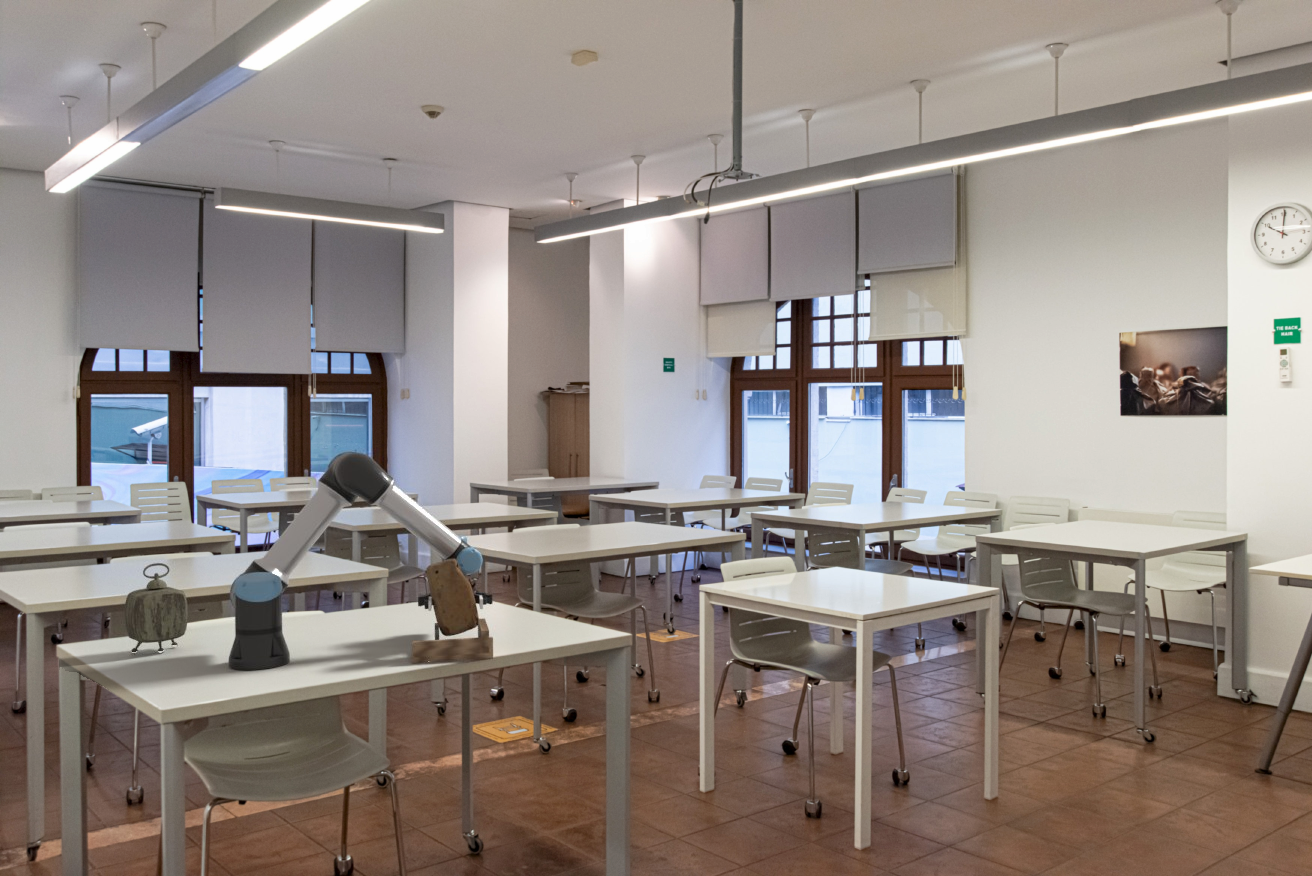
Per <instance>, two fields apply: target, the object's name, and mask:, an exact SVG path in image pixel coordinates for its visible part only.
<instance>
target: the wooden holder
mask: <svg viewBox="0 0 1312 876" xmlns="http://www.w3.org/2000/svg"><path fill="white" fill-rule="evenodd" d="M488 626H489V625H488V623H487V621H486V618H479V625H478V626H477V637H466V638H446V639H440V629H439V626H438V623H437V622H434V639H430V640H426V639H425V640H413V641H411V645H412V648H411V649H412V655H411V656H412V664H420V663H419V662H426V663H429V662H428V661H442V662H452V661H453V662H455V661H471V660H472V659H473V660H482V659H483V660H486V659H489V660H490V659H494V637H493V636H490V630H489V627H488Z"/></svg>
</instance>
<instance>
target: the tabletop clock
mask: <svg viewBox="0 0 1312 876" xmlns="http://www.w3.org/2000/svg"><path fill="white" fill-rule="evenodd" d="M157 566H162V567H165V568H166V569H167V571H166V572H165V573H163V574H161V575H159V573H158V572H155V573H154V575H153V576H152V575H147V574H146V571H147V570H148V569H149V568H151V567H157ZM142 573H143V574H142V575H143V576H144V577H146V578H148V579H152V580H149V582H148V583H147V584H146V587H145V588H141V589H136V590H133V591H131V592H129V593H127V596H126V599H125V604H124V617H123V618H124V625H125V626H124V627H125V631H126V634H127V637H128V638H130V639H131V640H133V641H136V642H137V644H136V645H135V647H133V648H132V649H131V651H132V652H136V651H139V647H140V646H141V644H142V643H143V644H144V643H145V644H151V643H158V647H159V648H158V649H157V652H158V651H163V650H164V651H165V649H164V647H162V643H163V642H166V641H167V642H168V641H171V643H170V644H171V645H177V646H178V642H176V641H175V640H176V639H179V638H181V637H183V636H184V635H185V633H186V631H187V628H188V619H189V610H188V609H189V607H188V599H187V596H186V593H185V591H184V590H181V589H178V588H174V587H170V586H168V585H167V583H166V581H164V580H163V579H162V578H164V577H166V576H168V574H169V573H170V568H169V566H168V565H167V564H165V563H163V562H162V563H160V562H155V563H151V564H148V565H147V566H146V567H144V568H143V570H142ZM132 652H131V653H132Z"/></svg>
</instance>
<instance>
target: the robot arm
mask: <svg viewBox="0 0 1312 876" xmlns="http://www.w3.org/2000/svg"><path fill="white" fill-rule="evenodd" d="M317 487H318V488H317V490H316V491H315V493H314V494H313V495H312V496H311V498H310V499H309V500H308V502H307V503H306V504H305V505H304V506H303V508H301V510H300V511H299V513H298V514H297V515H296V516H295V518H294V519H293V520H292V521H291V523H290V524H288V526H287V528H286V529H285V530H284V531H283V532H282V533H281V535H280V536H279V537H278V539H277V540H276V541H275V542H274V544H273V545H272V546H271V547H270V549H269V550H268V551H267V552H266V554H265V555H263V557H261V558H258V559H254V560H253V561H252V562H251V563H250V564H249V566H248V567H247V568H246V569H245V571H243V572H242V573H240V574H239V575H238V576H237V577H236V578H235V579H234V581H233V582H232V583H231V586H230V590H229V599H230V603H231V605H232V606H233V608H234V625H235V626H234V628H235V629H234V630H235V631H234V635H235V636H234V640H233V643H232V646H231V649H230V653H229V656H228V668H230V667H231V668H230V669H232V668H235V669H234V670H239V671H241V670H242V671H243V670H244V671H245V670H247V671H248V670H249V671H255V670H263V669H264V670H265V669H271V668H276V667H281V666H283V665H287V664H289V663H290V661H291V659H290V658H291V657H290V656H291V655H290V653H291V652H290V650H289V647H288V644H287V642H286V640H285V636H284V634H283V600H282V599H283V597H282V595H283V593H284V592H285V590H286V589H287V587H288V586H289V585H290V580H289V578H290V575H291V573H292V572H293V571H294V570H295V568H297V566H298V565H299V564H300V562H301V561H302V560H303V559H304V557H305V556H306V555H307V553H308V552H309V551H310V550H311V548H312V547H313V546H314V544H315V543H316V542H317V541H318V540H319V539H320V537H321V536H322V534H323V533H324V532H325V531H326V529H327V528H328V527H329V526H330V524H331V523H332V522H333V521H334V520H335V518H336V516H338V515H339V514H340V512H341V511H342V509H343V508H345V507H351V506H352V505H354V503H355V502H356V501H357V499H358V498H360V499H361V500H363V501H364V502H366V503H367V504H368V505H370V506H377V507H378V508H380V510H382V511H383V512H384V513H386V514H387V515H389V516H390V517H391V518H392V519H393V520H395V521H396V522H397V523H399V525H400V526H402V527H404V528H405V529H406V531H409V532H410V533H411V534H412V535H413V536H415V537H416V538H417V539H418V540H420V542H423V543H424V544H425V545H426V546H427V547H429V548H430V549H431V550H432V551H434V552H435V553H436V554H438V556H440V557H441V562H442V561H445V560H448V559H456V561H457V563H458V565H459V567H460V569H461V572H462V573H463V575H464V576H465V578H466V579H467V580H468V575H472V574H475V573H477V572H478V571H479V570H480V569H481V567H482V565H483V561H484V560H483V556H482V553H481V552H480V551H479V550H478V549H476V548H475V547H473V546H471V545H470V544H468V539H467V537H466V536H465V535H461V534H460V535H457V534H456V533H455V532H454V531H453V530H451V529H450V528H449V527H447V526H446V525H445V524H444V523H443V522H442V521H440V520H439V519H438V518H436V516H434V515H433V514H432V513H430V511H428V510H427V509H425V507H423V506H422V505H421V504H420V503H418V502H417V501H416V500H415V499H413V497H411V496H409V495H408V494H407V493H406V492H405V491H403V490H402V488H400V487H399V486H397V484H395V479H394V478H393V477H392V476H391V475H390V474H389V473H387V472H386V471H385V469H384V468H382V467H381V466H380V465H379V464H378V462H376V461H375V459H373V458H372V457H371V456H369V455H368V454H365V453H363V452H357V451H344V452H342V453H341V452H340V453H339V454H337V455H335V456H334V457H333V458H332V459H331V460H330V462H329V464H328V465H327V469H326V471H325V472H324V473H323V474H322V475H321V477H320V478H319V479H318V480H317ZM473 594H474V598H475V602H476V605H479V610H483V609H484V606H485V605H487V604H488V605H493V602H494V601H493V594H491V593H487V592H482V591H480V590H475V591H474V592H473ZM417 606H418V607H422V606H424V609H425V610H428V611H429V612H432V606H433V602H432V598H431V593H427V594H424V595H420V596H418V597H417Z"/></svg>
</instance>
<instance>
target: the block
mask: <svg viewBox="0 0 1312 876" xmlns="http://www.w3.org/2000/svg"><path fill="white" fill-rule="evenodd" d="M425 569H426V570H425V571H426V575H427V583H428V587H429V592H430V593H431V598H432V602H433V605H432V606H433V611H434V615H435V619H436V623H438V626H439V632H440V633H441V635H443V636H445V637H451V636H455V635H456V636H457V635H460V634H463V633H466V632H468V631H471V630H473V629H476V628H477V627H478V625H479V619H480V618H479V613H478V612H479V611H478V607H477V604H476V602H475V598H474V592H473V588H472V585H471V582H470V581H469V579H468V578H467V579H466V578H465V576H464V575H463V573H462V572H461V569H460V567H459V565H458V563H457V561H456V559H448V560H445V561H442V560H441V561H438V562H435V563H433V564H430V565H428V566H427V567H426V568H425Z"/></svg>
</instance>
